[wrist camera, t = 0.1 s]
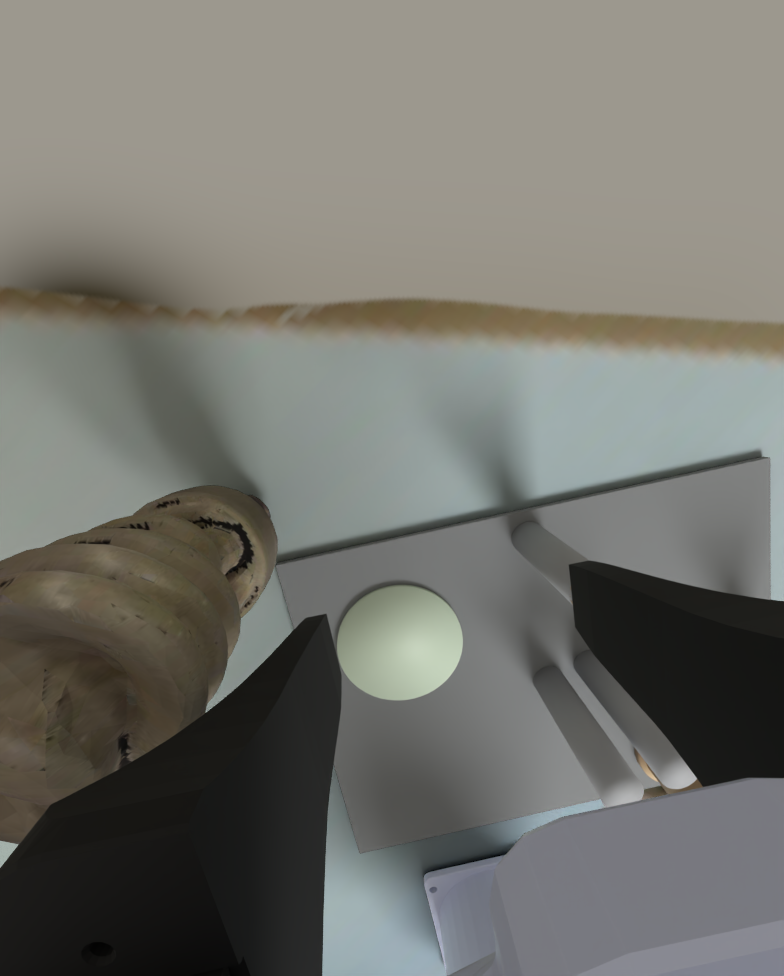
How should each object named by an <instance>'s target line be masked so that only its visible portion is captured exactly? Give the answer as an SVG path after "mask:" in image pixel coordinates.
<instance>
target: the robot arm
mask: <svg viewBox="0 0 784 976" xmlns="http://www.w3.org/2000/svg"><path fill="white" fill-rule="evenodd" d="M569 572H570V582H571V592H572V602H573V612H574V622H575V628H576V629H577V631H578V632H579V634H580V635H581V637H582V638H583V640H584V641H585V643H586V644H587V646H588V647H589V649H590V650H591V652H592V653H593V654H594V656H595V657H596V658H597V659H598V660H599V662H600V663H601V664H602V665H603V666H604V667H605V668H606V670H607V671H608V672H609V673H610V674H611V675H612V676H613V678H614V679H615V680H616V681H617V682H618V683H619V684H620V685H621V686H622V688H623V689H624V690H625V691H626V692H627V693H628V694H629V695H630V697H631V698H632V699H633V700H634V701H635V702H636V703H637V704H638V705H639V707H640V708H641V709H642V710H643V711H644V712H645V713H646V714H647V715H648V717H649V718H650V719H651V720H652V721H653V722H654V723H655V724H656V726H657V727H658V728H659V729H660V730H661V732H662V733H663V734H664V735H665V737H666V738H667V739H668V740H669V742H670V743H671V744H672V746H673V747H674V748H675V750H676V751H677V752H678V754H679V755H680V756H681V758H682V759H683V760H684V762H685V763H686V764H687V766H688V767H689V768H690V770H691V771H692V772H693V774H694V775H695V776H696V778H697V779H698V781H699V782H700V783H701V785H702V786H703V787H702V788H697V789H692V790H687V791H683V792H678V793H673V794H668V795H664V796H659V797H654V798H650V799H645V800H640V801H635V802H631V803H626V804H621V805H616V806H612V807H607V808H602V809H598V810H593V811H588V812H583V813H579V814H574V815H569V816H564V817H561V818H558V819H556V820H554V821H552V822H549V823H547V824H545V825H542V826H540V827H538V828H536V829H533V830H531V831H529V832H527V833H524V834H523V835H522V837H521V838H520V839H519V840H518V841H517V842H516V843H515V845H514V846H513V847H512V848H511V849H510V850H509V851H508V853H507V854H506V855H502V856H498V857H493V858H489V859H484V860H480V861H476V862H471V863H467V864H462V865H458V866H454V867H449V868H445V869H440V870H436V871H432V872H428V873H427V874H425V876H424V886H425V890H426V894H427V898H428V902H429V906H430V910H431V914H432V918H433V922H434V926H435V930H436V934H437V938H438V942H439V945H440V949H441V953H442V957H443V961H444V965H445V969H446V973H447V976H784V601H776V600H768V599H761V598H754V597H748V596H742V595H736V594H730V593H724V592H719V591H714V590H709V589H704V588H700V587H695V586H691V585H687V584H682V583H678V582H674V581H670V580H666V579H662V578H658V577H655V576H651V575H647V574H643V573H640V572H636V571H632V570H629V569H625V568H621V567H618V566H614V565H610V564H606V563H602V562H597V561H590V560H589V561H584V562H579V563H574V564H569ZM341 696H342V674H341V670H340V666H339V662H338V658H337V654H336V650H335V646H334V642H333V638H332V634H331V630H330V626H329V622H328V618H327V614H322V615H317V616H312V617H307V618H305V619H304V620H303V621H302V622H301V623H300V624H299V625H298V626H297V627H296V628H295V629H294V630H293V631H292V632H291V634H290V635H289V636H288V637H287V638H286V639H285V640H284V641H283V642H282V643H281V644H280V646H279V647H278V648H277V649H276V650H275V651H274V652H273V653H272V654H271V655H270V656H269V657H268V658H267V659H266V660H265V661H264V662H263V663H262V664H261V665H260V666H259V667H258V668H257V669H256V670H255V671H254V672H253V673H252V674H251V675H250V676H249V677H248V678H247V679H246V680H245V681H244V682H243V683H242V684H240V685H239V686H238V687H237V688H236V689H235V690H234V691H232V692H231V693H230V694H229V695H228V696H227V697H225V698H224V699H223V700H222V701H220V702H219V703H218V704H217V705H215V706H214V707H213V708H212V709H210V710H209V711H208V712H206V713H205V714H204V715H202V716H201V717H199V718H198V719H197V720H195V721H194V722H192V723H191V724H190V725H188V726H187V727H185V728H184V729H182V730H181V731H180V732H178V733H177V734H175V735H174V736H173V737H171V738H170V739H168V740H166V741H165V742H163V743H162V744H160V745H159V746H157V747H155V748H154V749H152V750H151V751H149V752H147V753H146V754H144V755H142V756H141V757H139V758H137V759H136V760H134V761H132V762H130V763H129V764H127V765H125V766H124V767H122V768H120V769H118V770H116V771H115V772H113V773H111V774H109V775H107V776H105V777H103V778H101V779H100V780H98V781H96V782H94V783H92V784H90V785H88V786H86V787H84V788H82V789H80V790H78V791H76V792H75V793H73V794H71V795H69V796H67V797H65V798H63V799H61V800H59V801H57V802H55V803H53V804H51V805H50V806H49V807H48V809H47V810H46V811H45V812H44V814H43V815H42V816H41V817H40V819H39V820H38V821H37V822H36V824H35V825H34V826H33V827H32V829H31V830H30V831H29V833H28V834H27V835H26V836H25V838H24V839H23V840H22V841H21V843H20V844H19V845H18V846H17V848H16V849H15V850H14V851H13V853H12V854H11V855H10V856H9V858H8V859H7V860H6V862H5V863H4V864H3V865H2V867H1V868H0V976H322V954H323V909H324V881H325V854H326V833H327V813H328V802H329V792H330V785H331V778H332V771H333V764H334V757H335V750H336V743H337V736H338V729H339V721H340V714H341Z"/></svg>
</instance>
